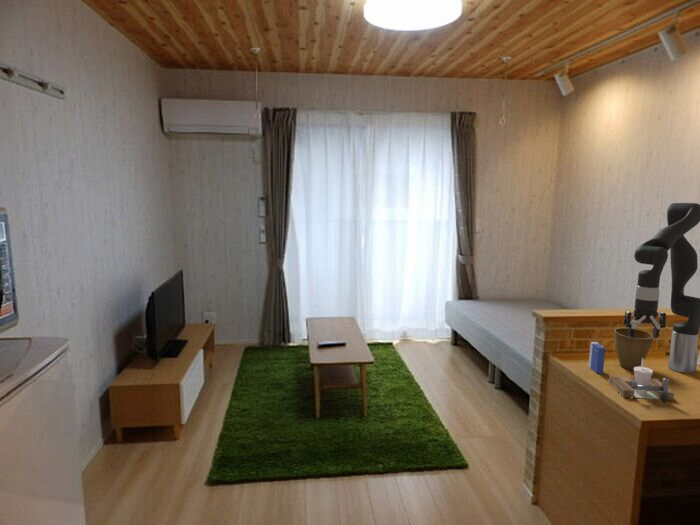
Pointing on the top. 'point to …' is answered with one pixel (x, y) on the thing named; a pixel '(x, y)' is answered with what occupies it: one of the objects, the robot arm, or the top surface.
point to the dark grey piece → (655, 388)
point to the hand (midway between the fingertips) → (643, 337)
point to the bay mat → (647, 396)
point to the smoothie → (642, 377)
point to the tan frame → (625, 390)
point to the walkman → (596, 357)
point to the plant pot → (632, 347)
